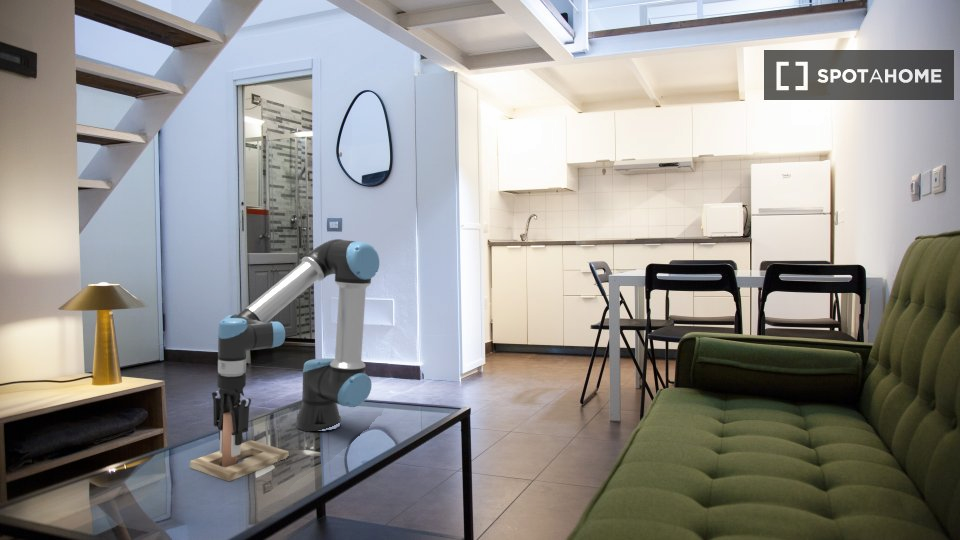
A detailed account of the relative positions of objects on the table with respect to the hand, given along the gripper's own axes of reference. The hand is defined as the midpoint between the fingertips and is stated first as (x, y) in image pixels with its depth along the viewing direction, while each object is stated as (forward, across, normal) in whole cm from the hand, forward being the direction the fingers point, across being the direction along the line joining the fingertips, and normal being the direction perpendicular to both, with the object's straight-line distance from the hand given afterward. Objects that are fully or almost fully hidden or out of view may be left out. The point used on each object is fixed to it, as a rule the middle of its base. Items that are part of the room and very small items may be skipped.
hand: (230, 453), depth 195 cm
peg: (+3, 0, 0) cm, 3 cm away
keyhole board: (+4, 0, +4) cm, 6 cm away
